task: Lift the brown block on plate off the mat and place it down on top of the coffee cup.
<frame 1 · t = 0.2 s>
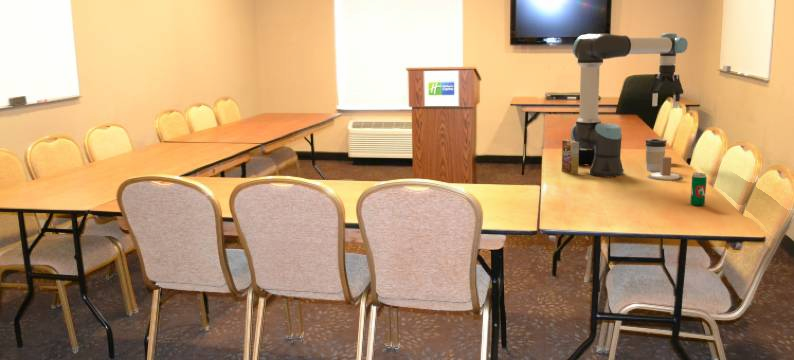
hand: (664, 107, 344), 28 cm above the table, fingers open, 13 cm apart
brown block on plate: (665, 177, 305), point 1 cm above the table, touching mat
candy box: (569, 172, 324), on the table
coffee cup: (654, 171, 322), on the table
mat: (664, 178, 305), on the table
plastic cup: (654, 162, 347), on the table
black container: (584, 163, 347), on the table
soda can: (697, 205, 256), on the table
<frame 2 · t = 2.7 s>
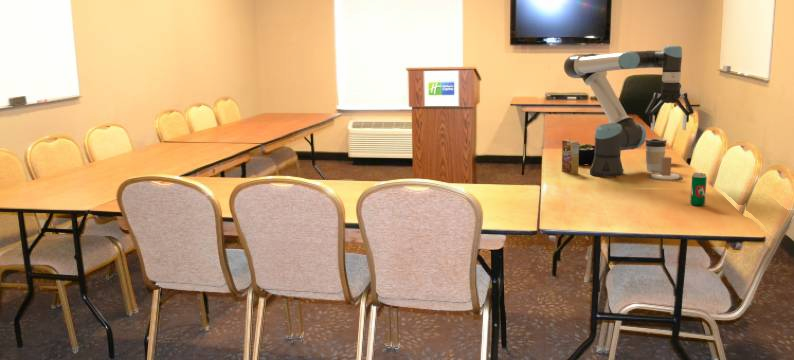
hand: (668, 130, 301), 22 cm above the table, fingers open, 13 cm apart
nothing on the table moved.
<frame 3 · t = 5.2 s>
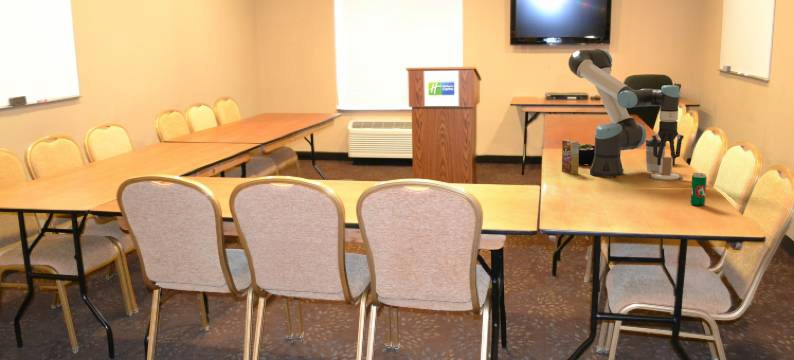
hand: (665, 172, 304), 3 cm above the table, fingers closed on brown block on plate, 3 cm apart
brown block on plate: (665, 177, 305), point 1 cm above the table, touching gripper, mat
everything else where it was.
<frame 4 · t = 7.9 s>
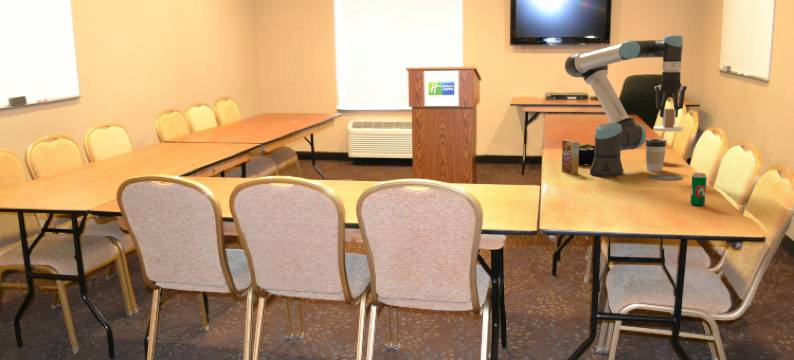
hand: (668, 124, 300), 24 cm above the table, fingers closed on brown block on plate, 3 cm apart
brown block on plate: (667, 129, 301), point 22 cm above the table, touching gripper
everything else where it was.
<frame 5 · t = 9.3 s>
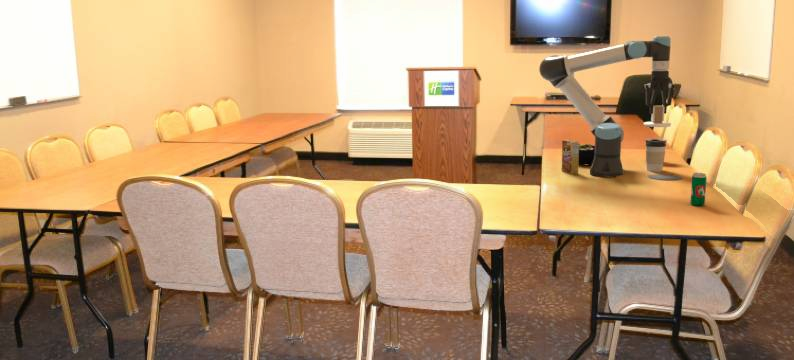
hand: (657, 120, 317), 24 cm above the table, fingers closed on brown block on plate, 3 cm apart
brown block on plate: (657, 125, 318), point 22 cm above the table, touching gripper
everything else where it was.
when the fingers open (19 cm above the table, at t = 10.7 s): brown block on plate drops 2 cm, resting on coffee cup.
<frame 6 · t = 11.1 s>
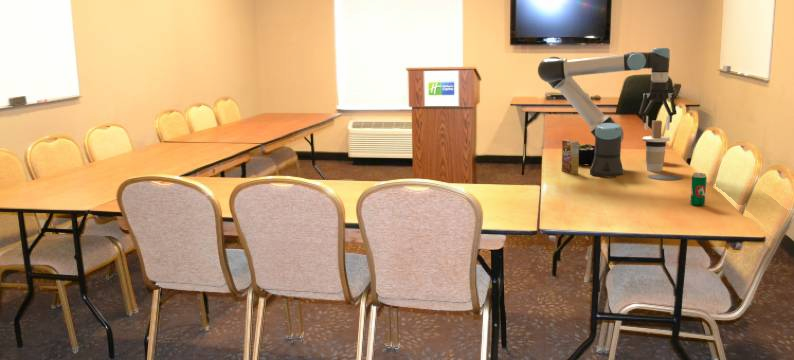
hand: (656, 129, 318), 20 cm above the table, fingers open, 9 cm apart
brown block on plate: (655, 140, 319), point 15 cm above the table, touching coffee cup
coffee cup: (654, 171, 322), on the table, touching brown block on plate
everything else where it was.
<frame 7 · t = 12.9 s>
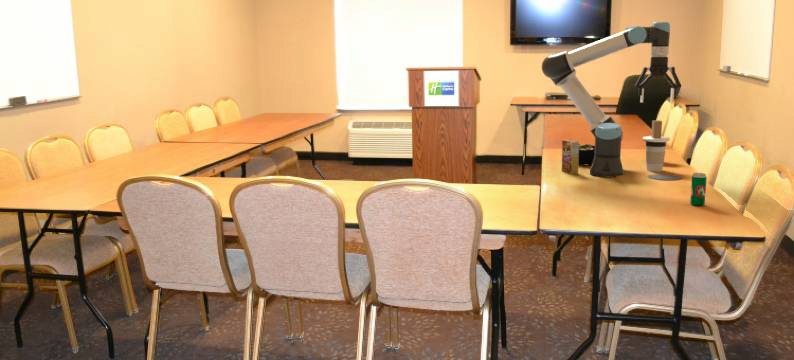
hand: (656, 102, 316), 33 cm above the table, fingers open, 13 cm apart
nothing on the table moved.
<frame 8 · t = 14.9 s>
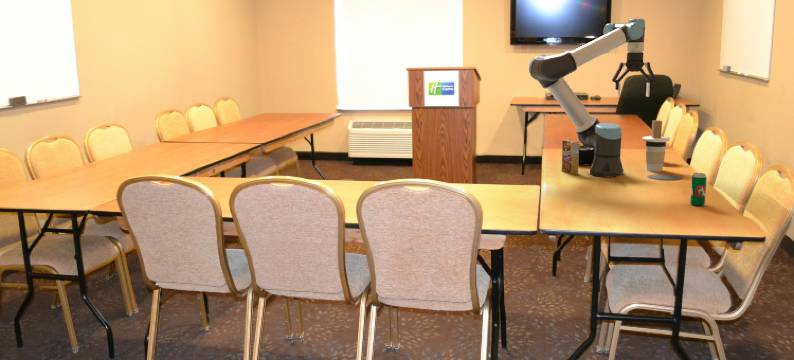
hand: (633, 96, 327), 35 cm above the table, fingers open, 13 cm apart
nothing on the table moved.
at the end: brown block on plate 0.0 cm from the coffee cup (horizontally); brown block on plate point 15.0 cm above the table; coffee cup tilted 0° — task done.
